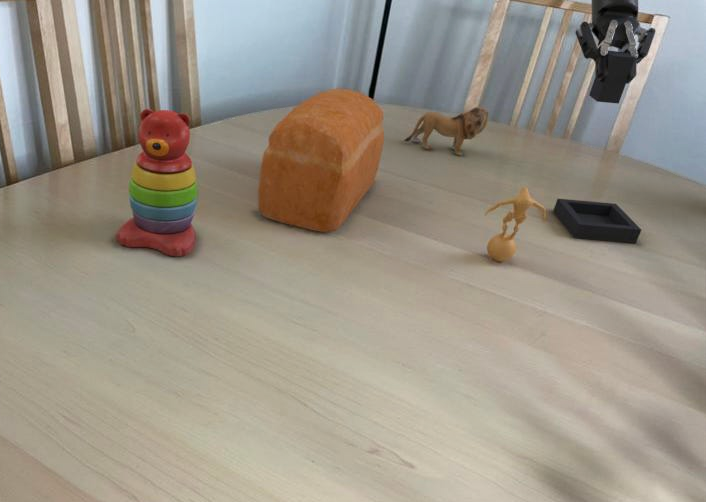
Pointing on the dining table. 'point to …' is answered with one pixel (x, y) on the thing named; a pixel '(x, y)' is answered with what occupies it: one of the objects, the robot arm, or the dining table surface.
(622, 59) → the pad block
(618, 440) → the dining table surface
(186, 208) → the stacking bear
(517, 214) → the figurine
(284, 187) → the bread
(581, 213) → the black square tray
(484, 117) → the lion figurine
